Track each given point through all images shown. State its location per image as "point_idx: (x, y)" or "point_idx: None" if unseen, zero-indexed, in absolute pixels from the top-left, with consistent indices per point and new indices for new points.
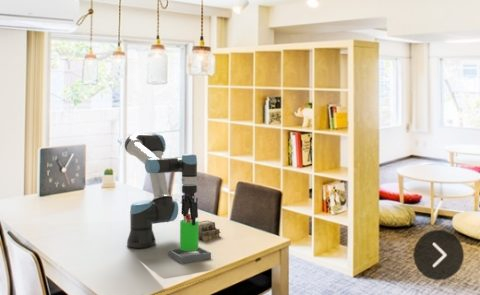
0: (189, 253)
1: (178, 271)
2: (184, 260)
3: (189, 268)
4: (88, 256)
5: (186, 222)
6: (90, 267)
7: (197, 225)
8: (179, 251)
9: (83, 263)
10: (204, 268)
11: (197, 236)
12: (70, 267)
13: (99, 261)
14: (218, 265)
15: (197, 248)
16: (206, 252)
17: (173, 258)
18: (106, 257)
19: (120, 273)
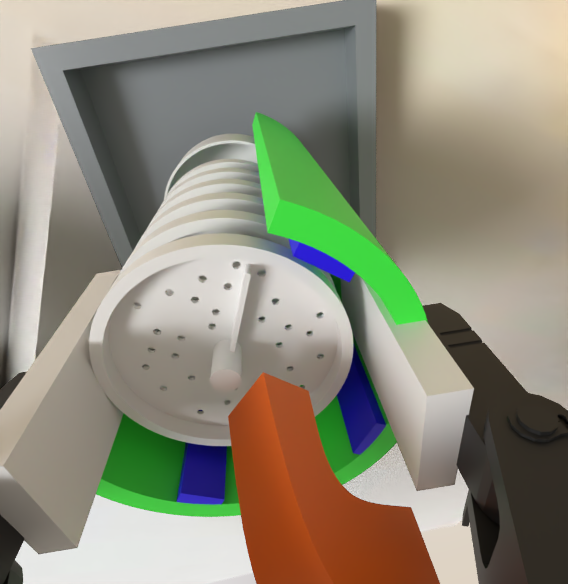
0: (174, 163)
1: (474, 310)
2: None
3: (470, 247)
4: (76, 559)
5: (360, 461)
6: (233, 545)
7: (363, 223)
8: (136, 240)
9: (174, 561)
10: (536, 161)
11: (317, 165)
12: (210, 577)
13: (163, 532)
14: (559, 22)
15: (296, 137)
16: (315, 31)
17: None
18: (107, 520)
19: (352, 484)
